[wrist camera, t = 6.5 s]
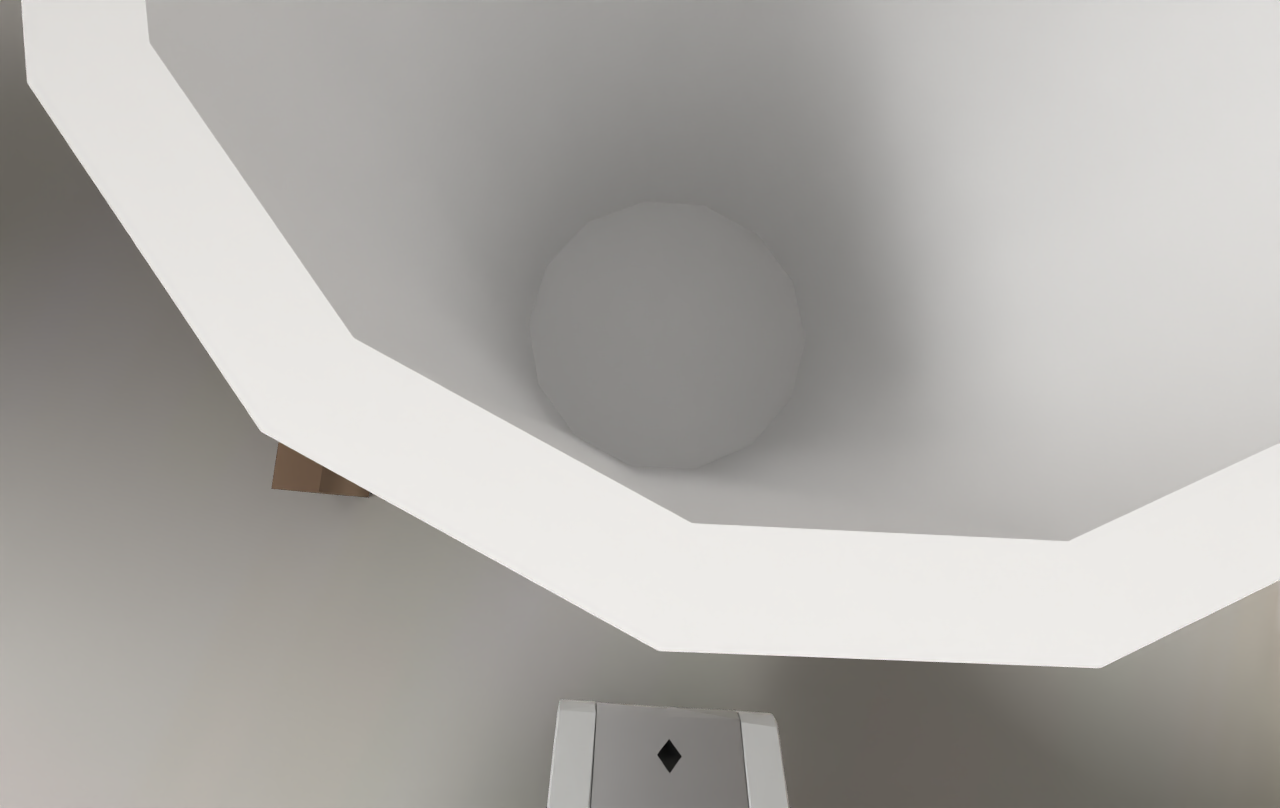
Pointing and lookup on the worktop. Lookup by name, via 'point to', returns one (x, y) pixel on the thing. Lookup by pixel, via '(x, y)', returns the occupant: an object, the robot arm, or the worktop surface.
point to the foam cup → (738, 293)
